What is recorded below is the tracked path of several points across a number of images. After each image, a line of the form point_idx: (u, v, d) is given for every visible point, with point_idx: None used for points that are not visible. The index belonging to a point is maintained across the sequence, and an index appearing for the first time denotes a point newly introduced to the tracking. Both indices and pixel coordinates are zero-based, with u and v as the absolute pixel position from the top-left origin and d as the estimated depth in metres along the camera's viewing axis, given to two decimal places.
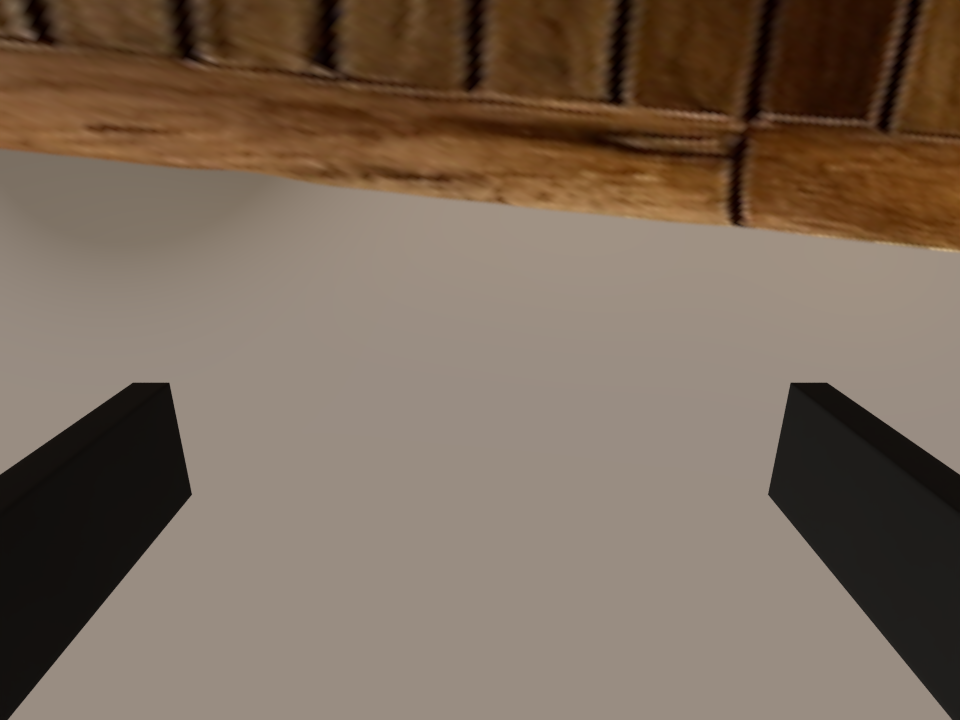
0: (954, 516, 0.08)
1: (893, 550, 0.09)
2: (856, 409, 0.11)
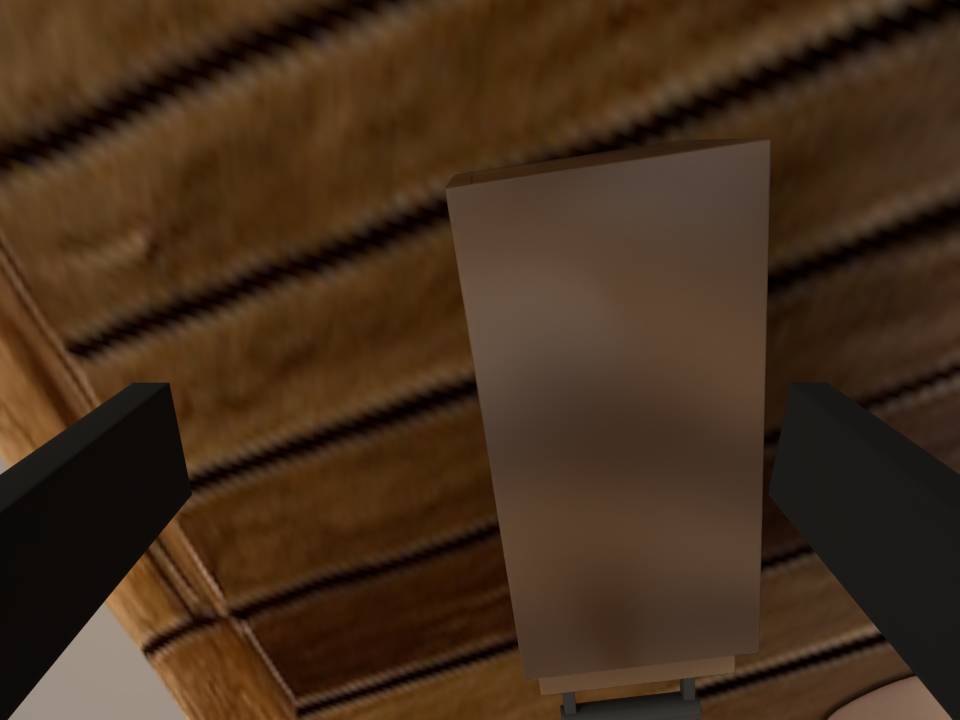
0: (954, 516, 0.08)
1: (893, 551, 0.09)
2: (856, 409, 0.11)
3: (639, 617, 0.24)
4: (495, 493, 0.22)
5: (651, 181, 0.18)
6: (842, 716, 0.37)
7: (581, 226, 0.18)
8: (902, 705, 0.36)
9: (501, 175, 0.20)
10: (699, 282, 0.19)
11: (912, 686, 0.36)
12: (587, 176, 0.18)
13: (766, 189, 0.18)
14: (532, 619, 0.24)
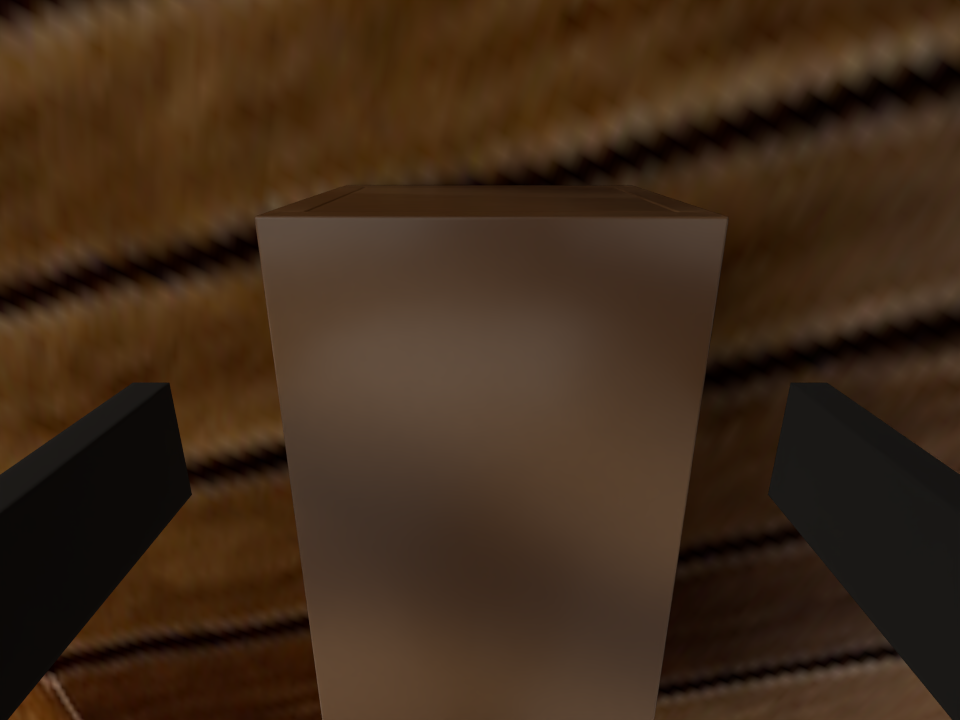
0: (954, 516, 0.08)
1: (893, 551, 0.09)
2: (856, 409, 0.11)
3: None
4: (310, 623, 0.16)
5: (553, 251, 0.12)
6: None
7: (448, 298, 0.13)
8: None
9: (362, 204, 0.14)
10: (606, 396, 0.14)
11: None
12: (461, 230, 0.12)
13: (713, 286, 0.13)
14: None
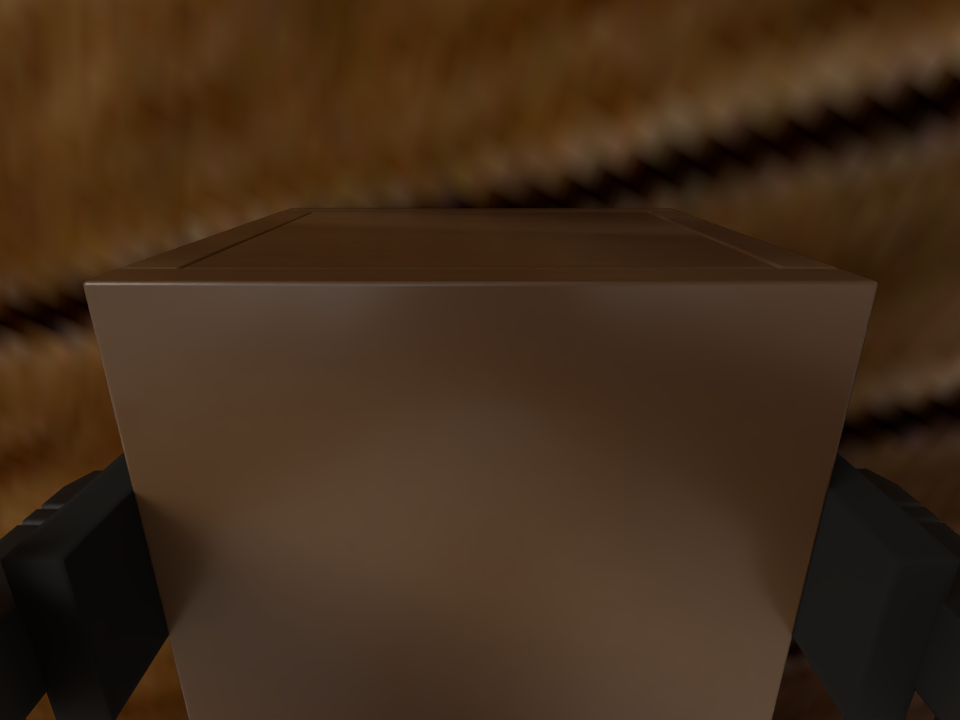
0: None
1: None
2: None
3: None
4: None
5: (583, 337, 0.08)
6: None
7: (412, 410, 0.08)
8: None
9: (284, 250, 0.09)
10: (664, 553, 0.09)
11: None
12: (430, 303, 0.07)
13: (844, 392, 0.08)
14: None
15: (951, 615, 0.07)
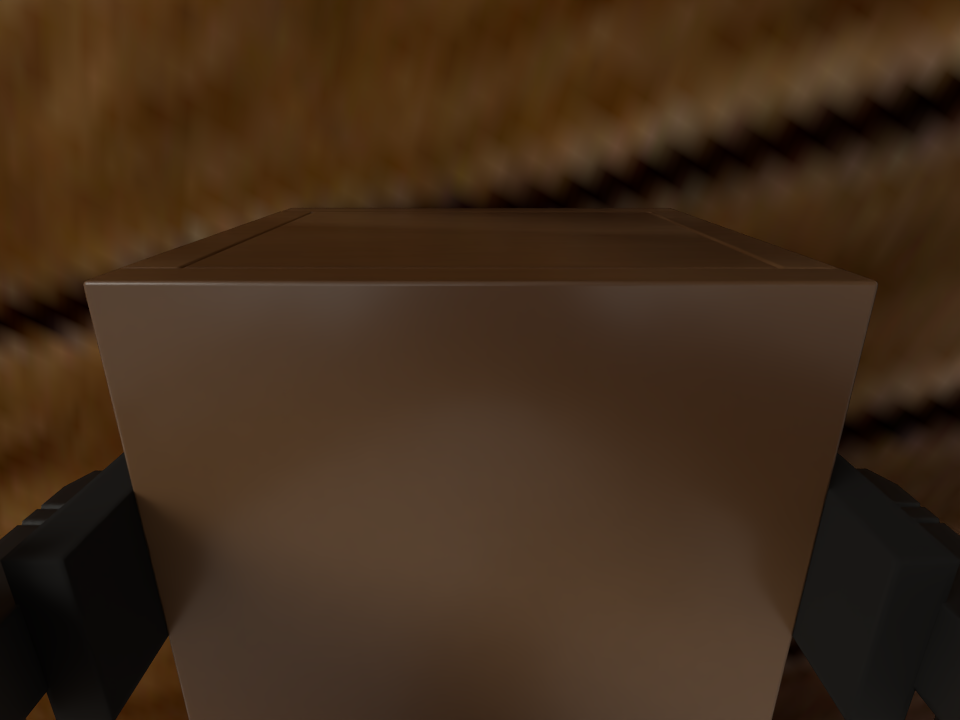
0: None
1: None
2: None
3: None
4: None
5: (583, 337, 0.08)
6: None
7: (412, 409, 0.08)
8: None
9: (284, 249, 0.09)
10: (664, 553, 0.09)
11: None
12: (431, 303, 0.07)
13: (844, 392, 0.08)
14: None
15: (951, 615, 0.07)
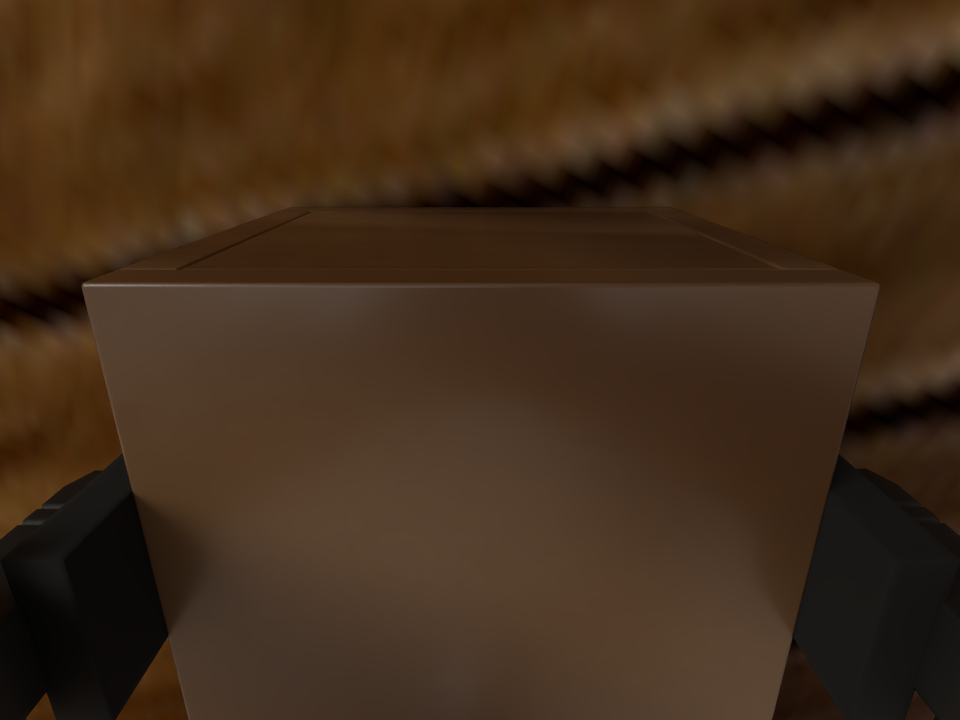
0: None
1: None
2: None
3: None
4: None
5: (584, 338, 0.07)
6: None
7: (412, 411, 0.08)
8: None
9: (284, 250, 0.09)
10: (664, 555, 0.09)
11: None
12: (431, 304, 0.07)
13: (846, 394, 0.08)
14: None
15: (950, 615, 0.07)
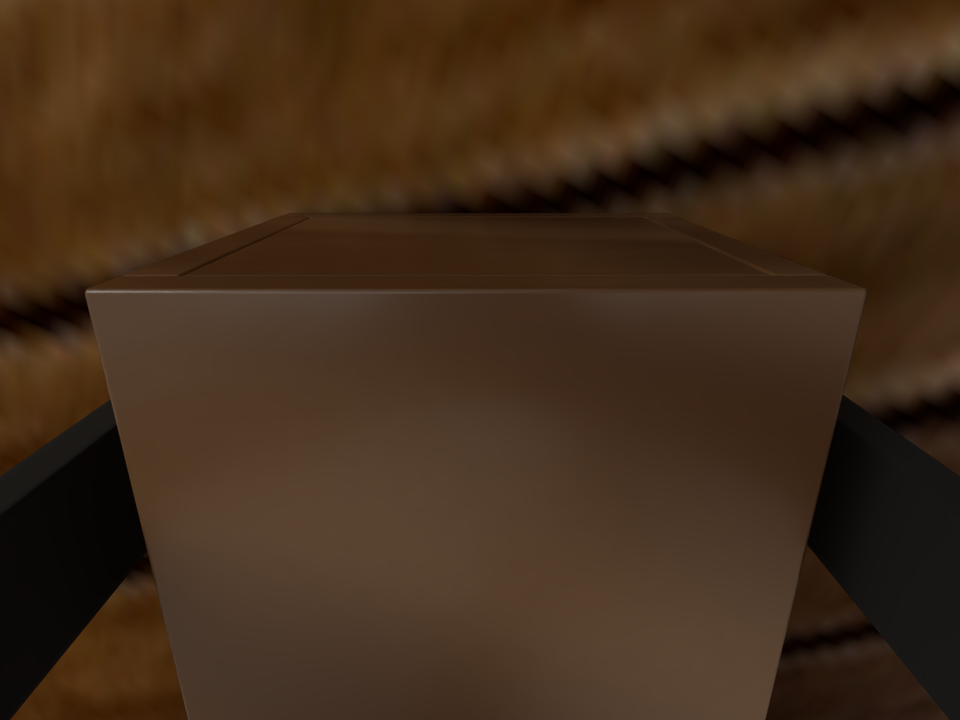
0: (950, 515, 0.08)
1: (890, 549, 0.09)
2: (853, 408, 0.11)
3: None
4: None
5: (578, 343, 0.08)
6: None
7: (409, 415, 0.08)
8: None
9: (283, 256, 0.09)
10: (658, 556, 0.09)
11: None
12: (428, 310, 0.07)
13: (834, 397, 0.08)
14: None
15: None
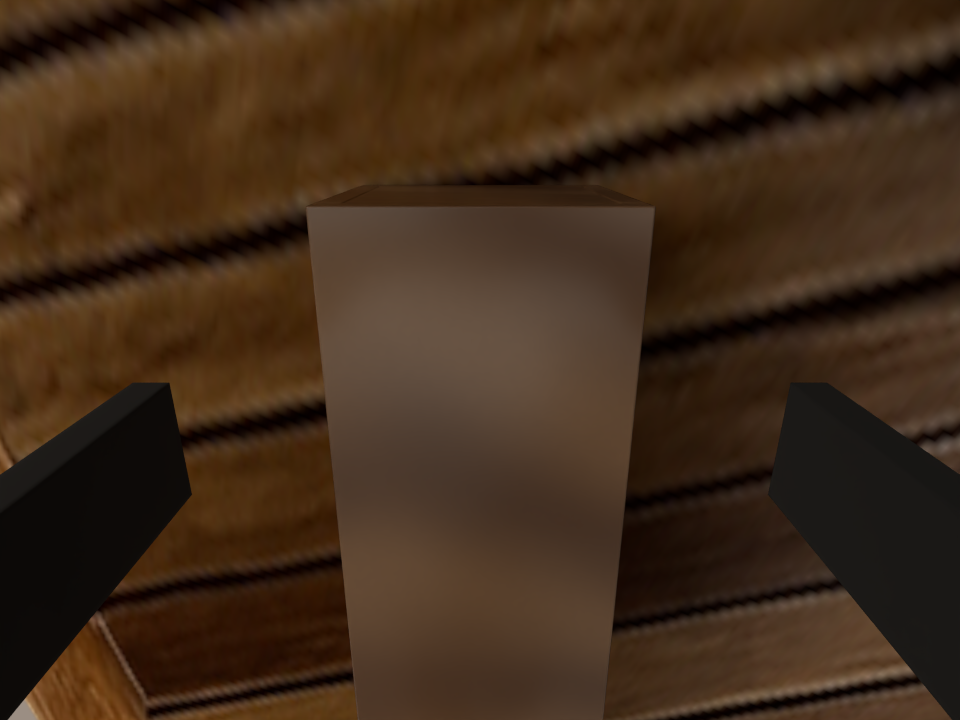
0: (954, 516, 0.08)
1: (893, 551, 0.09)
2: (856, 409, 0.11)
3: (482, 674, 0.23)
4: (339, 530, 0.20)
5: (526, 232, 0.17)
6: None
7: (449, 268, 0.17)
8: None
9: (382, 198, 0.19)
10: (569, 343, 0.18)
11: None
12: (459, 216, 0.17)
13: (646, 258, 0.17)
14: (370, 663, 0.23)
15: None
